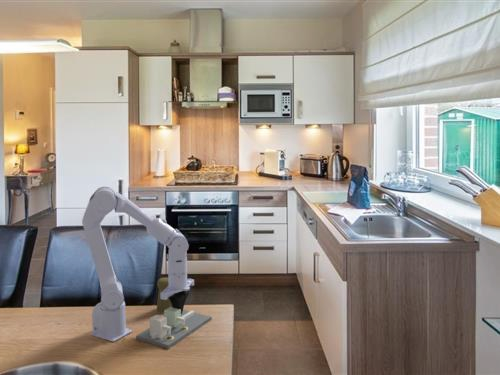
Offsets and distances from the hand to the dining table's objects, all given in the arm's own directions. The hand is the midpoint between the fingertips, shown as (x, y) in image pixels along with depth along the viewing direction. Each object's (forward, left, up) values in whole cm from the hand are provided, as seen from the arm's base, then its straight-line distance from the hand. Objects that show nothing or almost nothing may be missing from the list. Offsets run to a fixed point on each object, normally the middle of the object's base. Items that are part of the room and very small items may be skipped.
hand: (178, 314), depth 142 cm
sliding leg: (+1, -3, -2) cm, 4 cm away
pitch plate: (+1, -2, -4) cm, 4 cm away
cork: (-11, +8, -4) cm, 15 cm away
